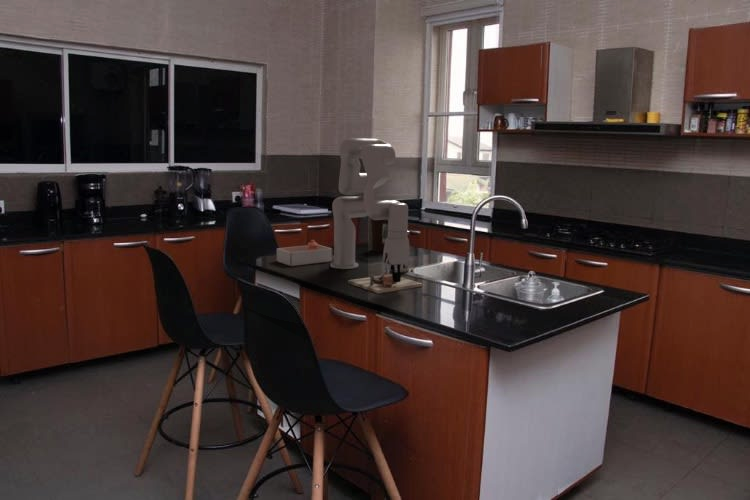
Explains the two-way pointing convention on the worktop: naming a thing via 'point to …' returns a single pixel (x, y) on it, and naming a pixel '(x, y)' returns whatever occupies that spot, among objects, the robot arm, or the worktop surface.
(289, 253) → the dish tray
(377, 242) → the olive oil
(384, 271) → the grey cylinder
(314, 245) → the pottery
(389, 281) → the ring with handle
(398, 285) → the board
